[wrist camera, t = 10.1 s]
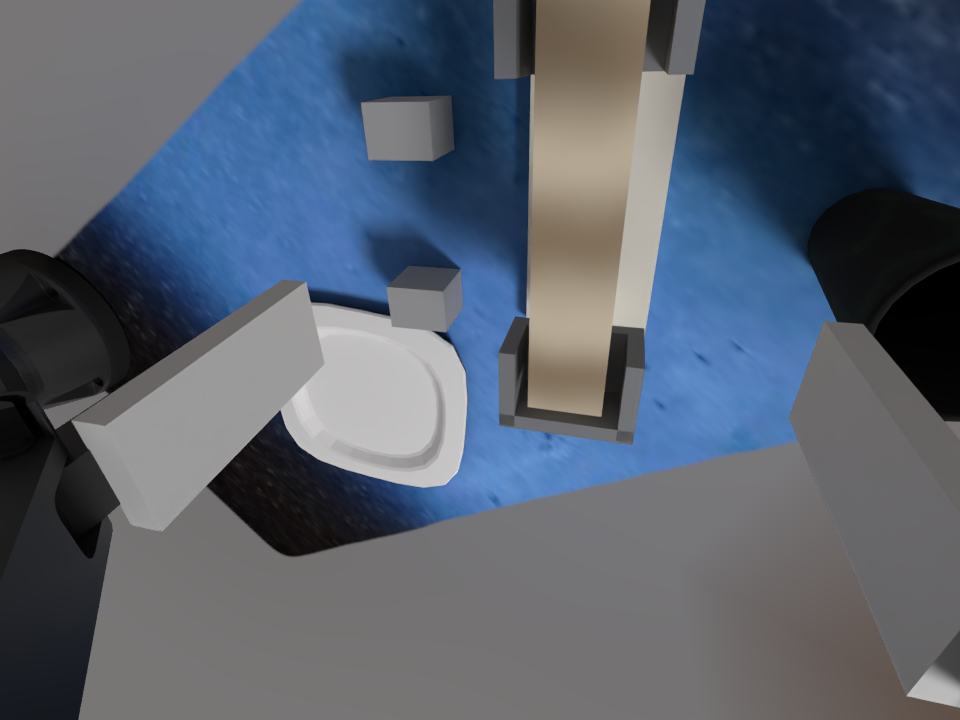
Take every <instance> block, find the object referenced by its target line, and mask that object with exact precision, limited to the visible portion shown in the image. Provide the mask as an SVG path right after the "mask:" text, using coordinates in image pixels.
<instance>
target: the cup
mask: <svg viewBox="0 0 960 720" xmlns="http://www.w3.org/2000/svg"><path fill="white" fill-rule="evenodd" d="M808 257H809V260H810V263H811V265H812V268H813V270H814V272H815V274H816V276H817V279H818V281H819V283H820V285H821V287H822V290H823V292H824V294H825V296H826V298H827V301H828V303H829V305H830V307H831V309H832V312H833V314H834V316H835V318H836V320H837V322H841V323H855V324H863V325H864V326H865V327H866V328H867V330H868V331H869V332H870V333H871V334H872V335H873V337H874V338H875V339H876V340H877V341H878V343H879V344H880V345H881V346H882V347H883V349H884V350H885V351H886V352H887V353H888V355H889V356H890V357H891V358H892V359H893V361H894V362H895V363H896V364H897V365H898V367H899V368H900V369H901V370H902V371H903V373H904V374H905V375H906V376H907V377H908V379H909V380H910V381H911V382H912V383H913V385H914V386H915V387H916V388H917V389H918V391H919V392H920V393H921V394H922V395H923V397H924V398H925V399H926V400H927V401H928V402H929V404H930V405H931V406H932V407H933V408H934V410H935V411H936V412H937V413H938V414H939V416H940V417H941V418H942V419H943V420H944V421H957V422H958V421H959V422H960V209H959V208H956V207H953V206H949V205H946V204H943V203H939V202H936V201H933V200H929V199H926V198H923V197H919V196H916V195H913V194H909V193H906V192H903V191H899V190H896V189H887V188H877V189H867V190H864V191H860V192H857V193H854V194H851V195H849V196H847V197H845V198H843V199H841V200H839V201H838V202H837V203H835V204H834V205H833V206H831V207H830V208H829V209H827V210H826V211H825V213H824V214H823V215H822V216H821V217H820V218H819V219H818V220H817V222H816V224H815V226H814V227H813V229H812V231H811V233H810V237H809V240H808Z"/></svg>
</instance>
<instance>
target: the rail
mask: <svg viewBox="0 0 960 720" xmlns="http://www.w3.org/2000/svg"><path fill="white" fill-rule="evenodd" d="M650 2H651V0H536V45H535V91H534V137H533V183H532V229H531V275H530V321H529V367H528V407H531V408H539V409H546V410H554V411H561V412H569V413H576V414H584V415H591V416H599V417H601V416H602V408H603V399H604V391H605V382H606V374H607V365H608V357H609V348H610V340H611V332H612V323H613V315H614V306H615V298H616V289H617V281H618V272H619V264H620V256H621V247H622V239H623V230H624V222H625V213H626V205H627V196H628V188H629V180H630V171H631V163H632V154H633V146H634V137H635V129H636V121H637V112H638V104H639V95H640V87H641V78H642V70H643V61H644V53H645V45H646V36H647V28H648V19H649V11H650Z"/></svg>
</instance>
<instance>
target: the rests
mask: <svg viewBox="0 0 960 720" xmlns="http://www.w3.org/2000/svg"><path fill="white" fill-rule="evenodd" d="M361 108H362V115H363V122H364V130H365V137H366V144H367V151H368V158H369V160H399V161H434V160H436V159H438V158H440V157H441V156H443V155H445V154H447V153H449V152H450V151H452V150H454V130H453V112H452V96H405V97H386V98H381V99H376V100H371V101H366V102H361ZM386 288H387V295H388V302H389V309H390V317H391V324H392V327H399V328H409V329H419V330H428V331H438V332H447V330H448V329H449V327H450V326H451V324H452V323H453V322H454V320H455V319H456V317H457V316H458V314H459V313H460V311H461V310H462V308H463V296H462V277H461V269H450V268H436V267H422V266H408V267H407V268H406V269H405V270H404V271H403V272H402V273H401V274H400V275H398V276H397V277H396V278H395V279H394V280H393V281H392V282H391V283H390V284H389V285H388V286H387V287H386Z"/></svg>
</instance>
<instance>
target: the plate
mask: <svg viewBox="0 0 960 720" xmlns="http://www.w3.org/2000/svg"><path fill="white" fill-rule="evenodd" d="M311 305H312V310H313V314H314V319H315V323H316V327H317V332H318V336H319V341H320V345H321V349H322V354H323V358H324V363H325V364H324V365H323V366H322V367H321V368H320V369H319V370H318V371H317V372H316V373H315V374H314V375H313V376H312V377H311V379H310V380H309V381H308V382H307V383H306V384H305V385H304V386H303V387H302V388H301V389H300V390H299V391H298V392H297V393H296V394H295V395H294V396H293V397H292V398H291V399H290V400H289V401H288V402H287V403H286V404H285V405H284V406H283V407H282V408H281V409H280V410H281V413H282V416H283V419H284V423H285V426H286V428H287V430H288V431H289V433H290V434H291V435H292V437H293V438H294V440H295V441H296V443H297V444H298V445H299V447H301V448H302V449H304V450H305V451H307V452H308V453H310V454H311V455H313V456H314V457H316V458H317V459H319V460H321V461H324V462H327V463H329V464H332V465H335V466H337V467H340V468H343V469H346V470H349V471H353V472H357V473H360V474H364V475H367V476H371V477H375V478H379V479H383V480H387V481H390V482H394V483H399V484H405V485H411V486H417V487H432V486H440V485H446V483H447V482H448V481H449V480H450V479H451V478H452V477H453V476H454V475H455V474H456V473H457V472H458V470H459V466H460V462H461V458H462V454H463V451H464V442H465V432H466V420H467V404H468V393H467V380H466V370H465V368H464V366H463V364H462V362H461V359H460V357H459V355H458V353H457V351H456V349H455V347H454V345H453V344H451V343H450V342H448V341H447V340H446V339H444V338H443V337H441V336H440V335H439V334H437V333H436V332H434V331H428V330H419V329H409V328H399V327H392V324H391V317H390V315H386V314H381V313H376V312H372V311H367V310H363V309H358V308H352V307H347V306H342V305H337V304H331V303H322V302H311Z"/></svg>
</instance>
